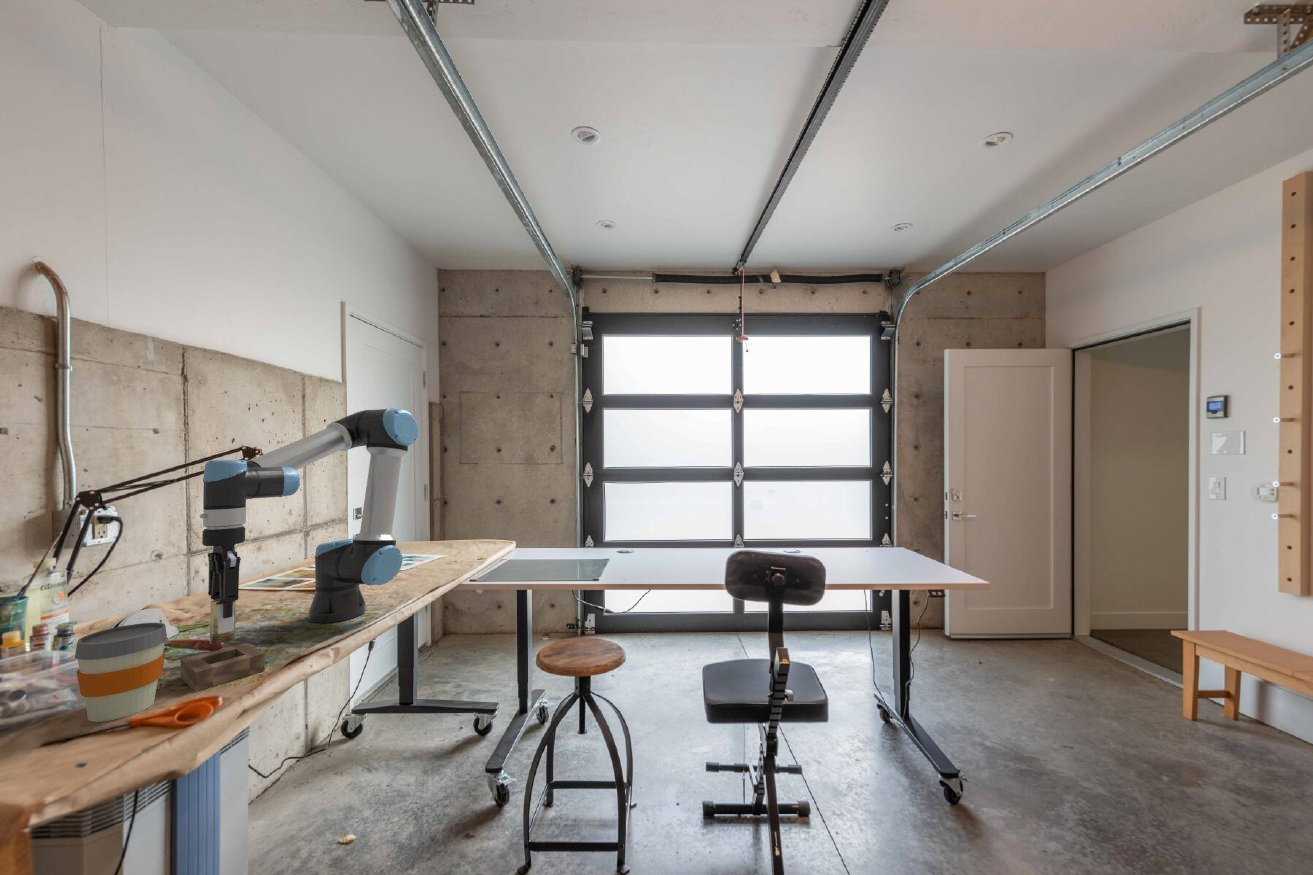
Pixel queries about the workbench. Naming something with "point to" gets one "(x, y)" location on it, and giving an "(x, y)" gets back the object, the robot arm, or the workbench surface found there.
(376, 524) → the robot arm
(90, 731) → the workbench surface
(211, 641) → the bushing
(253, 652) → the frame
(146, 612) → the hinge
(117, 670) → the reusable coffee cup
